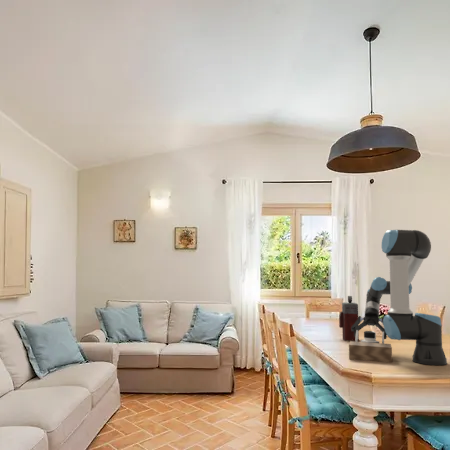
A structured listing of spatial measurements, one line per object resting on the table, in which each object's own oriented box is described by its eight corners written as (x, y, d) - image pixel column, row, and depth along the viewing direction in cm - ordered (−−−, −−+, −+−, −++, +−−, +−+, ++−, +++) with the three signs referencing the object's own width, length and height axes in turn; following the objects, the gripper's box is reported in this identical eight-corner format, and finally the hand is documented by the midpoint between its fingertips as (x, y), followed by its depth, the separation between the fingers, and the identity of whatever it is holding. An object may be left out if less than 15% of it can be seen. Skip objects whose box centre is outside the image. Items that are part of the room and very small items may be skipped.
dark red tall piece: (338, 338, 284) (338, 295, 287) (356, 338, 283) (355, 295, 286) (340, 340, 276) (340, 295, 279) (358, 340, 274) (358, 296, 277)
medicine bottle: (367, 355, 225) (367, 332, 226) (360, 353, 232) (360, 330, 233) (380, 355, 226) (379, 332, 228) (372, 352, 233) (372, 330, 235)
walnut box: (390, 357, 220) (390, 343, 221) (392, 362, 208) (391, 347, 209) (350, 354, 226) (349, 341, 227) (349, 359, 215) (348, 344, 216)
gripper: (396, 317, 241) (394, 348, 226) (350, 314, 252) (346, 344, 237) (395, 308, 237) (394, 339, 222) (348, 305, 248) (344, 335, 233)
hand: (369, 342), depth 229 cm, fingers open, 13 cm apart
